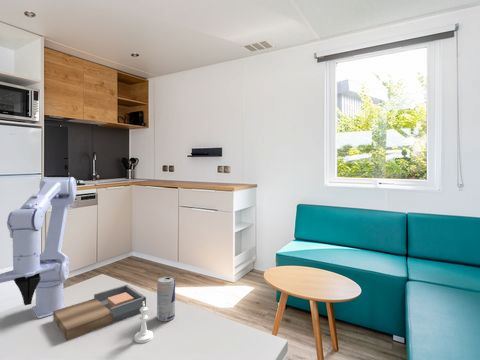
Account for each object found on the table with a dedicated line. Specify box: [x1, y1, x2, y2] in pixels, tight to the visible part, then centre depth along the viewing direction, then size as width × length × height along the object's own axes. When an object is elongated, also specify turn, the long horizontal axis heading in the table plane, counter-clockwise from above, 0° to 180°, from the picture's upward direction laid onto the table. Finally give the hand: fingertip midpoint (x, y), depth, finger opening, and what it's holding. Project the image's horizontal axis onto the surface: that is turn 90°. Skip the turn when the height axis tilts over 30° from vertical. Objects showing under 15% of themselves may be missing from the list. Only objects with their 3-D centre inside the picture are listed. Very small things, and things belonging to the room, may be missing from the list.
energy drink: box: [156, 275, 176, 322], centre depth 88 cm, size 5×5×12 cm
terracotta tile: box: [108, 292, 134, 307], centre depth 92 cm, size 6×6×2 cm
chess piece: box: [133, 301, 154, 344], centre depth 77 cm, size 5×5×10 cm
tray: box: [93, 284, 147, 324], centre depth 92 cm, size 14×11×4 cm
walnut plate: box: [52, 298, 114, 342], centre depth 85 cm, size 14×12×3 cm
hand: (27, 303), depth 76 cm, fingers closed
